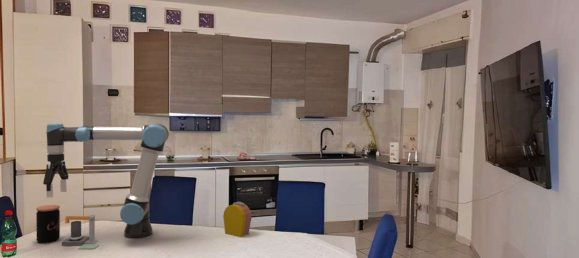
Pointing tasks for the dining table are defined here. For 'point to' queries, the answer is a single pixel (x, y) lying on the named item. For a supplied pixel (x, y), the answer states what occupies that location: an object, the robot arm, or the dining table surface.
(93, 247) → the mat
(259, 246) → the dining table surface
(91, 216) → the clip
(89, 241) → the socket
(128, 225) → the robot arm
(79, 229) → the plug
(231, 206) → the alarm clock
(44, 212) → the coffee jar
